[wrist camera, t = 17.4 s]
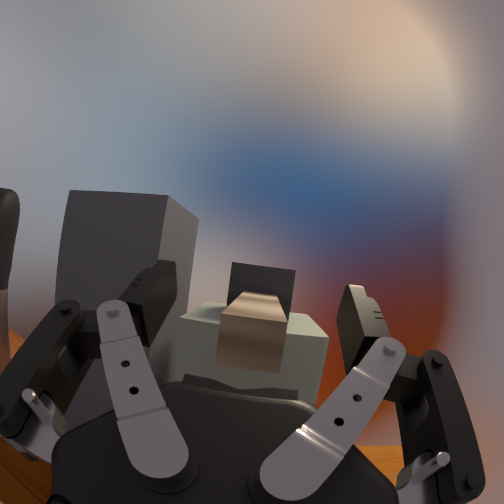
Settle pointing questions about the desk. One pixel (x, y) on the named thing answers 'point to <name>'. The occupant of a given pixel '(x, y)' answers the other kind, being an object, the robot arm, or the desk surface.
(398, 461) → the desk surface
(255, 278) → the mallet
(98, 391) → the stand
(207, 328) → the stand
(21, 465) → the desk surface
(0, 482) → the desk surface
